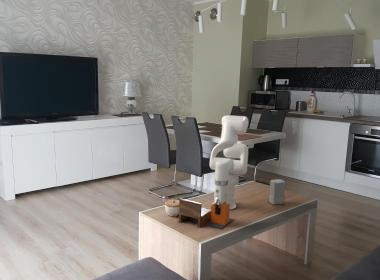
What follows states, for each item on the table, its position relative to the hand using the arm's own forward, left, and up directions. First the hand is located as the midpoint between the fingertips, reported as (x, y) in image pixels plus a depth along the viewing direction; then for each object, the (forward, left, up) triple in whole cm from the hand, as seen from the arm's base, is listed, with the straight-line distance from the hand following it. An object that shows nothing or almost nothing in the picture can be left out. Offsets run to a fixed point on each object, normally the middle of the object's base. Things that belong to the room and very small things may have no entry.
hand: (220, 212), depth 210 cm
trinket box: (+5, -29, -7) cm, 30 cm away
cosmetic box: (-52, +17, -7) cm, 55 cm away
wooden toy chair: (+6, -13, -6) cm, 16 cm away
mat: (0, 0, -6) cm, 6 cm away
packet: (0, 0, -6) cm, 6 cm away
